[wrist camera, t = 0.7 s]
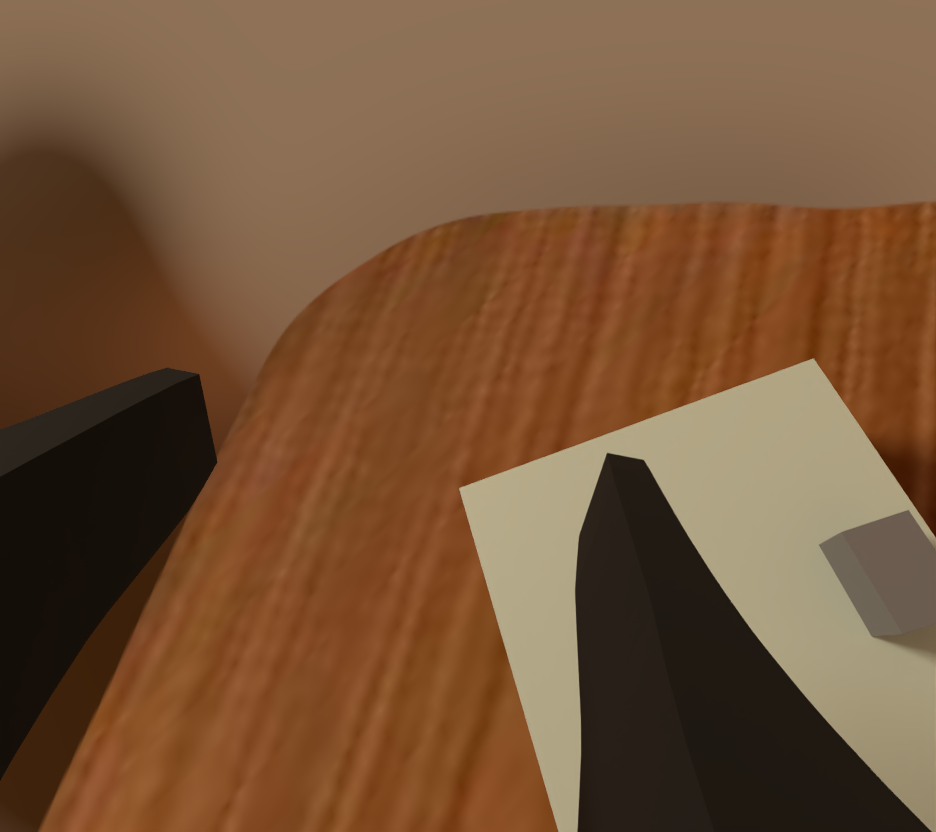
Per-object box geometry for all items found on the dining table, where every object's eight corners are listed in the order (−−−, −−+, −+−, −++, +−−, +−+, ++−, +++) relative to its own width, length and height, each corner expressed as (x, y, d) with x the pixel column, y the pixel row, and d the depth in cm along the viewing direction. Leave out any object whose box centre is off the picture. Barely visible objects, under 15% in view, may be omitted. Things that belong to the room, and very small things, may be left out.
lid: (1129, 842, 15) (1232, 882, 12) (604, 975, 16) (600, 1033, 14) (809, 365, 22) (832, 328, 19) (463, 492, 23) (443, 472, 21)
